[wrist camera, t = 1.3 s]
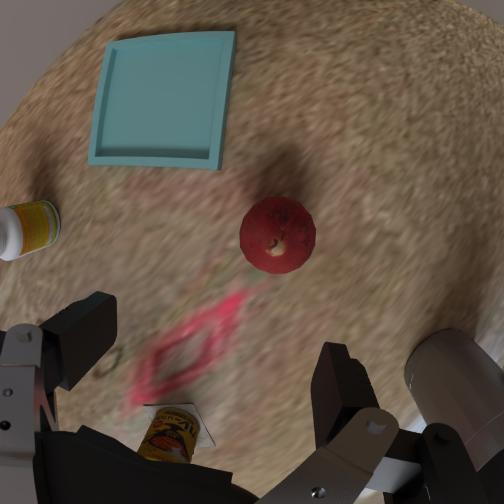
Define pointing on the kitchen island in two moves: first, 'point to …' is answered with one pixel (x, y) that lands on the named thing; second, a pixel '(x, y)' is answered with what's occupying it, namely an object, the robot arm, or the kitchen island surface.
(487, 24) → the kitchen island surface
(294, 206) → the dark red rounded piece
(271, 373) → the kitchen island surface
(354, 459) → the robot arm
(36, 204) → the supplement bottle
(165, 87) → the tray
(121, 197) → the kitchen island surface
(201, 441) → the condiment
